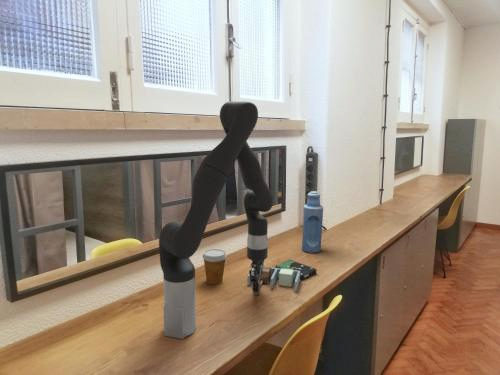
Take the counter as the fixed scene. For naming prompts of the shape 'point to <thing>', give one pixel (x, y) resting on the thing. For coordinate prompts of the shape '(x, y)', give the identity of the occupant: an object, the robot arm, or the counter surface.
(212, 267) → the disposable coffee cup
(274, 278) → the lane rack
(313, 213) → the bottle
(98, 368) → the counter surface
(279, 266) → the disk drive
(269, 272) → the block with brown handle
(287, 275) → the block
